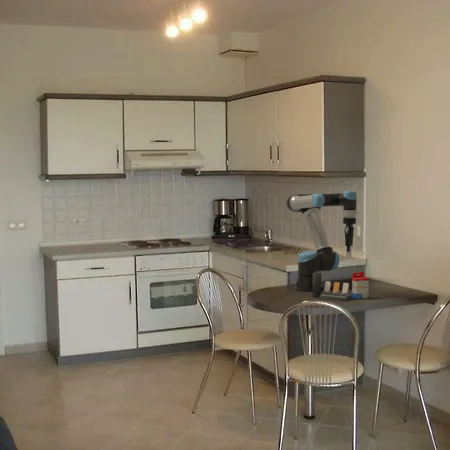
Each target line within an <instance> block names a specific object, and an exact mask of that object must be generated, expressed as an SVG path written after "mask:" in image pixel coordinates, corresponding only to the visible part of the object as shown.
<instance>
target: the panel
mask: <svg viewBox="0 0 450 450" xmlns="http://www.w3.org/2000/svg"><path fill="white" fill-rule="evenodd" d="M318 299H319V300H326V301H336V300H340V301H339V302H348V301H349V300H351V299H353V298H352V294H351V293H350V294H349V293H348V295H342V293H339V294H333V292H330V293H324V292H322V293H321V295H319V298H318Z"/></svg>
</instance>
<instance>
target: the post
mask: <svg viewBox="0 0 450 450" xmlns="http://www.w3.org/2000/svg"><path fill="white" fill-rule="evenodd" d="M321 294H322V272H315V273H313V291H312V298H318V299H319V295H321Z"/></svg>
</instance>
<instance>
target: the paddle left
mask: <svg viewBox="0 0 450 450" xmlns="http://www.w3.org/2000/svg"><path fill="white" fill-rule="evenodd" d="M331 285H332V282H331V281H325V282H324V287H323V293H331Z"/></svg>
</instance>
